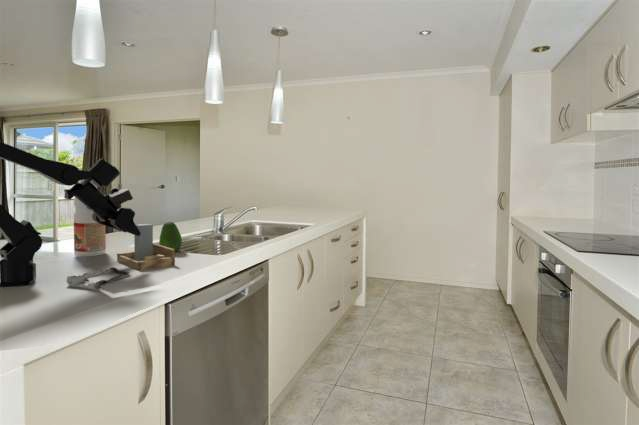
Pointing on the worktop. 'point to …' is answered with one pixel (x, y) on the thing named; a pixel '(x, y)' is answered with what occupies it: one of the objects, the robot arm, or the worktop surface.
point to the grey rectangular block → (144, 242)
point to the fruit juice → (87, 232)
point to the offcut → (154, 257)
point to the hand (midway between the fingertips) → (133, 233)
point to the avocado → (170, 236)
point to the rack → (130, 260)
